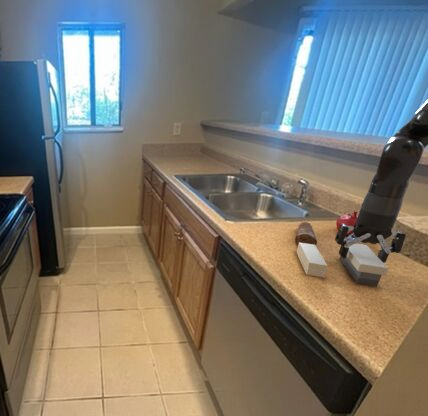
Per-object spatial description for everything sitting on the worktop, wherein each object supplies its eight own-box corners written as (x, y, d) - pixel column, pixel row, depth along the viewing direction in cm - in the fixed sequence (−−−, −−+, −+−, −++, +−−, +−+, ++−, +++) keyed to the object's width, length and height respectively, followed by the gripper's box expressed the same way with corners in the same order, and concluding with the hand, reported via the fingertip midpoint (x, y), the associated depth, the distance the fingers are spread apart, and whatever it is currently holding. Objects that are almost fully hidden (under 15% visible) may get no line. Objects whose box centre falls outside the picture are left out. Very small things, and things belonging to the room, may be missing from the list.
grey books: (356, 261, 88) (360, 250, 87) (377, 287, 77) (382, 275, 75) (339, 259, 90) (342, 248, 89) (356, 283, 78) (361, 271, 77)
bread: (293, 246, 98) (296, 232, 96) (296, 228, 113) (299, 215, 111) (314, 251, 95) (318, 237, 93) (315, 231, 109) (319, 219, 107)
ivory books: (311, 254, 93) (314, 244, 92) (324, 277, 81) (328, 266, 80) (296, 252, 95) (299, 242, 93) (306, 274, 83) (309, 263, 81)
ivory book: (363, 251, 87) (365, 244, 86) (385, 275, 75) (388, 268, 74) (340, 248, 89) (342, 241, 88) (357, 271, 77) (360, 263, 76)
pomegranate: (364, 242, 100) (372, 218, 97) (330, 233, 108) (337, 211, 104) (369, 234, 106) (377, 211, 103) (337, 226, 113) (344, 205, 110)
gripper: (352, 210, 75) (335, 261, 81) (422, 218, 70) (398, 271, 76) (342, 202, 82) (327, 249, 88) (405, 208, 77) (385, 258, 82)
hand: (360, 259), depth 82 cm, fingers open, 8 cm apart
